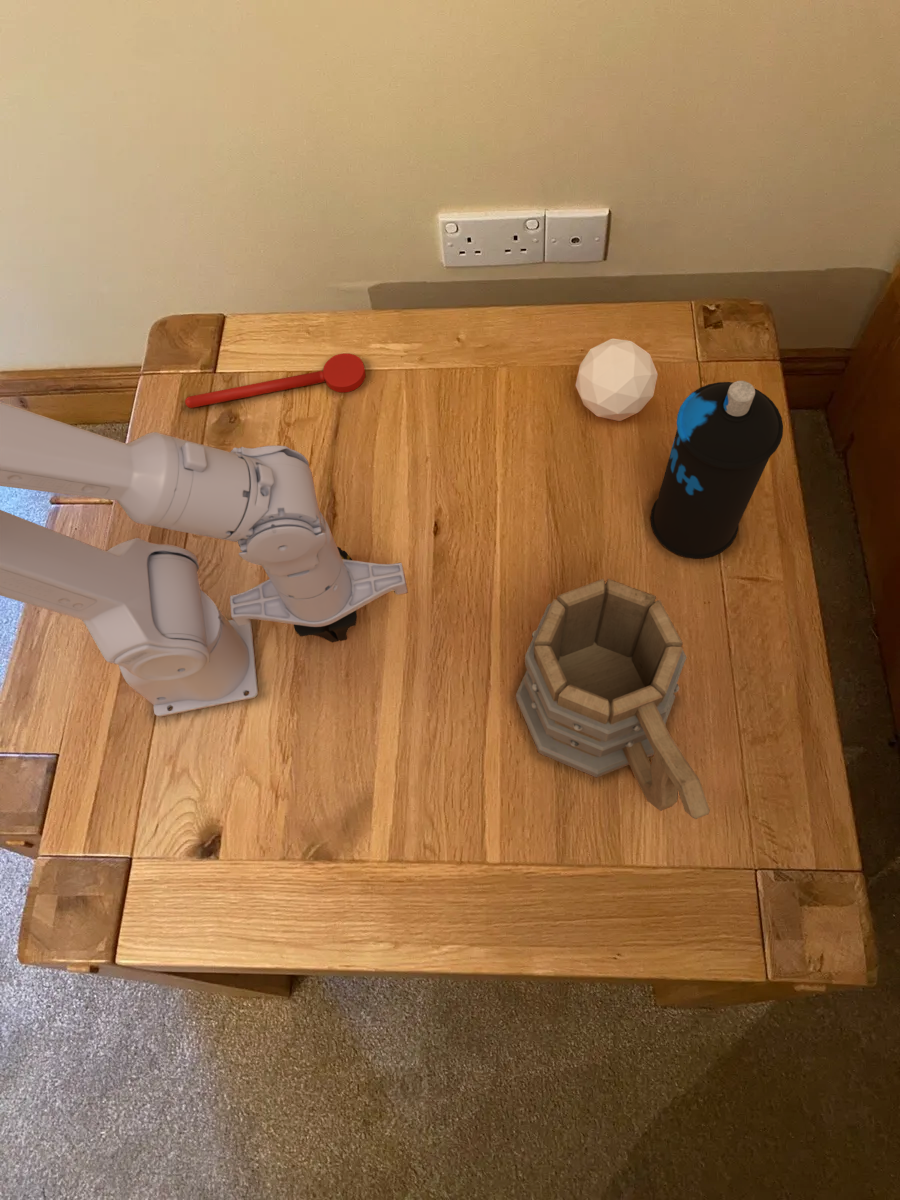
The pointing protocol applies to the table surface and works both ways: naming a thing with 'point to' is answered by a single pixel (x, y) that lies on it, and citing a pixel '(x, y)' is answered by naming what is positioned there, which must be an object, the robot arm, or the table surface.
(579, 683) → the tankard
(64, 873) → the table surface
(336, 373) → the spoon
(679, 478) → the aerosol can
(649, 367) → the geometric ball
